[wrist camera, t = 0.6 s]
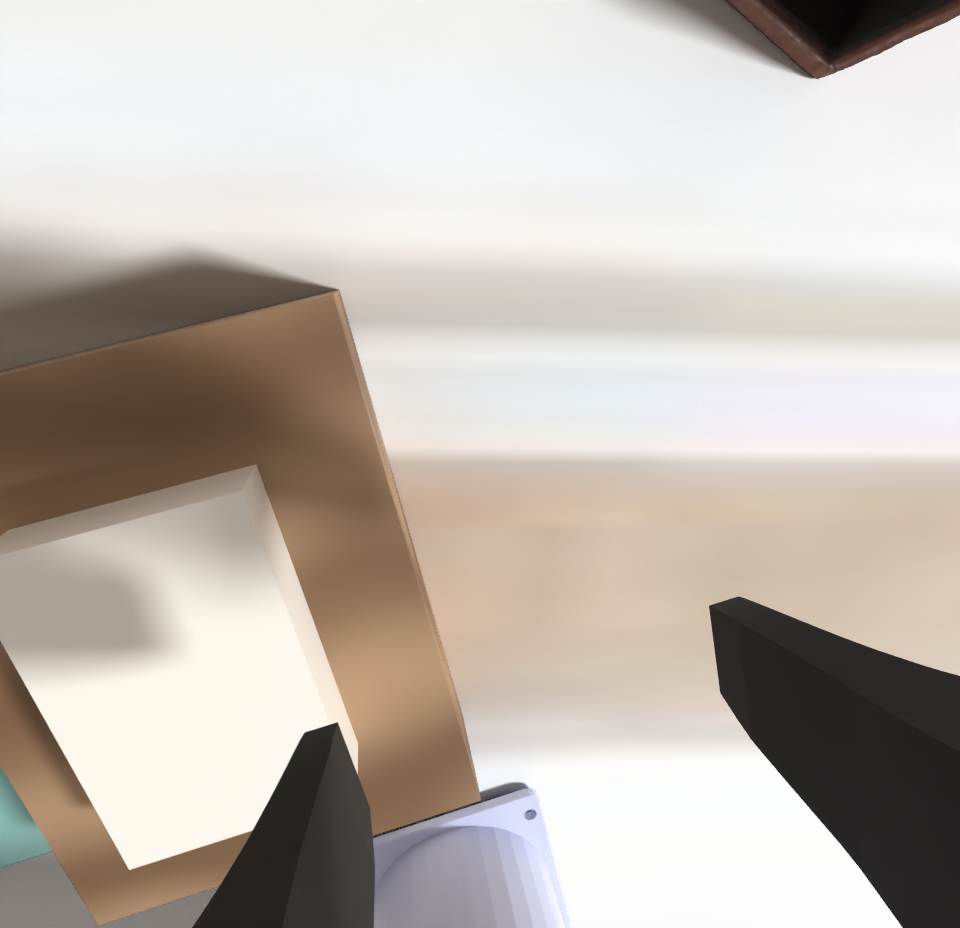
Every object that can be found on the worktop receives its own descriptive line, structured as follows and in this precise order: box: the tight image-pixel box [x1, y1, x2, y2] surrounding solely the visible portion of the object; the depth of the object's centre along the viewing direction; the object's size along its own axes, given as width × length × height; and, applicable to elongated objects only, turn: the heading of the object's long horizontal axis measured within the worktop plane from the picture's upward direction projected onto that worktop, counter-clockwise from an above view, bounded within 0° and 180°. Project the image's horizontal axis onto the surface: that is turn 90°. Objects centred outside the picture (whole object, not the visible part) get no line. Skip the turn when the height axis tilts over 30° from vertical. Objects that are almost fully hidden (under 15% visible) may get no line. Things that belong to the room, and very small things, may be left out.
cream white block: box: [0, 464, 358, 870], centre depth 16 cm, size 9×6×2 cm, turn 13°
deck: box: [0, 290, 481, 926], centre depth 19 cm, size 16×12×4 cm
